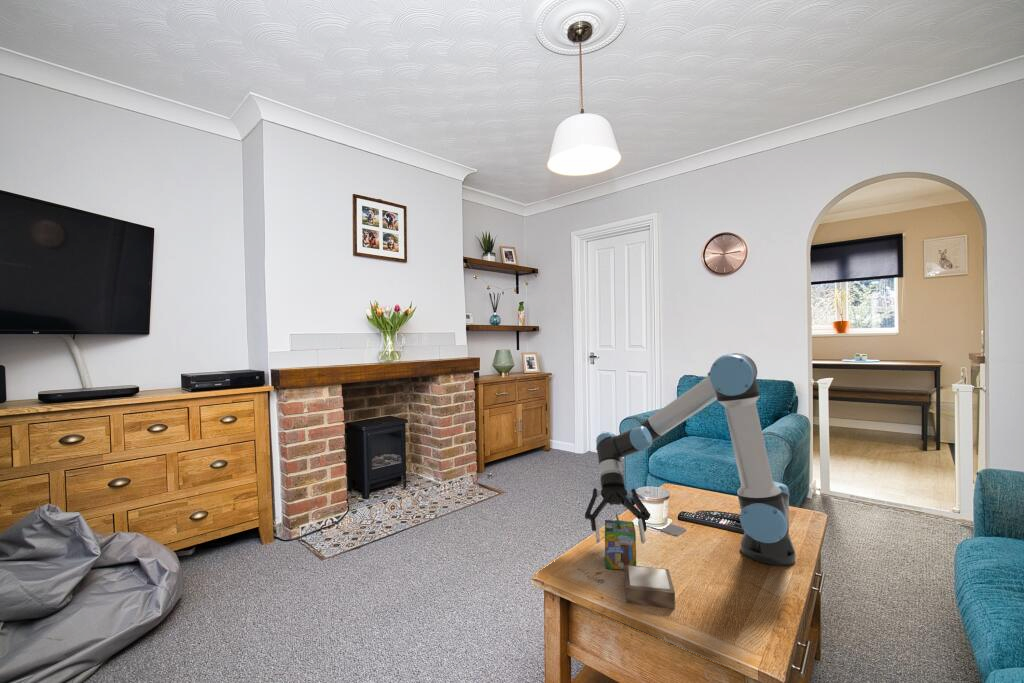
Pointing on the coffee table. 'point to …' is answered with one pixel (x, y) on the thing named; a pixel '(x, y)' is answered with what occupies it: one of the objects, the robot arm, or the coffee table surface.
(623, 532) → the chalk box
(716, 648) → the coffee table surface
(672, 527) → the smartphone
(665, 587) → the base brick
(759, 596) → the coffee table surface
